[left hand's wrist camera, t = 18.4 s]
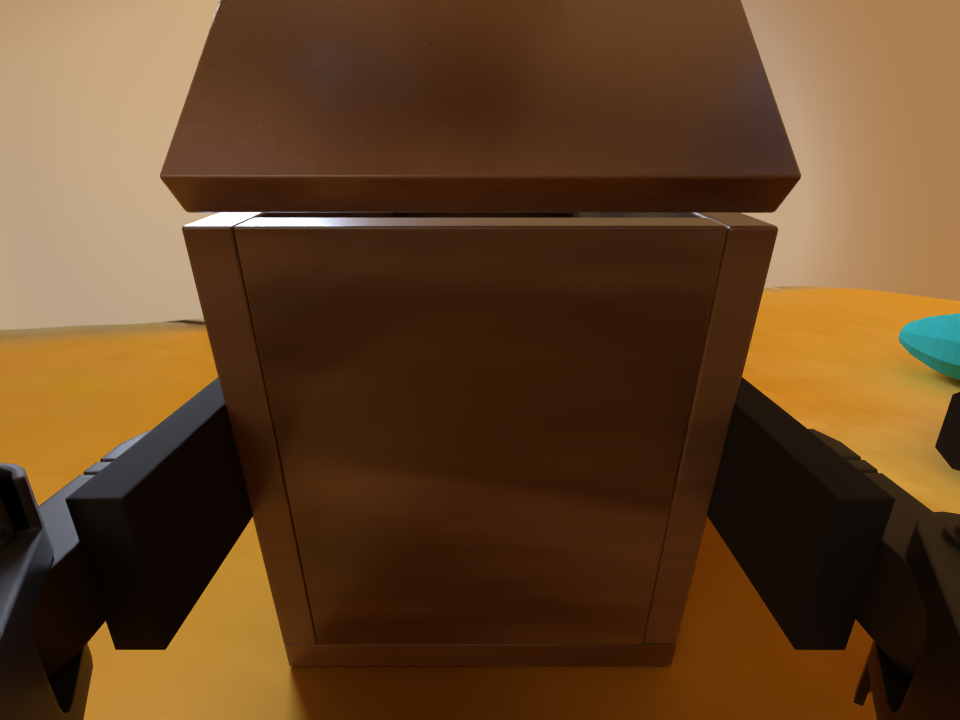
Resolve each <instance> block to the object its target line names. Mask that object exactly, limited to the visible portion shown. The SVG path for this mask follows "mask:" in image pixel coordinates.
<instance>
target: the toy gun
mask: <svg viewBox="0 0 960 720" xmlns="http://www.w3.org/2000/svg"><path fill="white" fill-rule="evenodd" d="M899 340H900V343H901V344H902V345H903V346H904V347H905V349H906V350H907V351H908V352H909V353H910V354H911V355H913V356H914V357H916V358H917V359H919V360H920V361H922V362H923V363H924V364H926V365H927V366H929V367H930V368H932V369H934V370H936V371H938V372H940V373H942V374H944V375H947V376H949V377H952V378H954V379H958V380H960V313H958V314H950V315H942V316H933V317H927V318H924V319H920V320H917V321H913V322H910V323H908V324H906V325H905V326H904V327H903V329H902V330H901V331H900V335H899ZM935 447H936V449H937V450H938V451H939V452H940V454H941V455H942V456H943V458H944V459H945V460H946V461H947V463H948V464H949V465H950V467H951V468H953V469H956V470H959V471H960V392H959V393H956V394H953V396H952V399H951V402H950V404H949V407H948V410H947V413H946V416H945V419H944V422H943V425H942V428H941V431H940V434H939V437H938V440H937V443H936V446H935Z"/></svg>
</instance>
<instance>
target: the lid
mask: <svg viewBox="0 0 960 720" xmlns="http://www.w3.org/2000/svg"><path fill="white" fill-rule="evenodd" d="M160 177H161V179H162V181H163V182H164V183H165V185H166V186H167V187H168V189H169V190H170V191H171V193H172V194H173V195H174V197H175V198H176V199H177V200H178V202H179V203H180V204H181V206H182V207H183V208H184V210H185V211H187V212H371V213H772V212H774V211H776V210H777V208H778V207H779V206H780V204H781V203H782V202H783V201H784V199H785V198H786V197H787V195H788V194H789V193H790V191H791V190H792V189H793V188H794V186H795V185H796V184H797V182H798V181H799V180H800V178H801V174H800V171H799V168H798V165H797V162H796V159H795V156H794V153H793V150H792V148H791V145H790V142H789V139H788V136H787V133H786V130H785V127H784V124H783V122H782V119H781V116H780V113H779V110H778V107H777V104H776V101H775V98H774V96H773V93H772V90H771V87H770V84H769V81H768V78H767V75H766V72H765V69H764V67H763V64H762V61H761V58H760V55H759V52H758V49H757V46H756V43H755V40H754V38H753V35H752V32H751V29H750V26H749V23H748V20H747V17H746V14H745V11H744V9H743V6H742V3H741V0H220V2H219V5H218V8H217V11H216V13H215V16H214V19H213V22H212V25H211V28H210V31H209V34H208V37H207V40H206V43H205V45H204V48H203V51H202V54H201V57H200V60H199V63H198V66H197V69H196V72H195V75H194V78H193V80H192V83H191V86H190V89H189V92H188V95H187V98H186V101H185V104H184V107H183V110H182V113H181V115H180V118H179V121H178V124H177V127H176V130H175V133H174V136H173V139H172V142H171V145H170V147H169V151H168V153H167V156H166V159H165V162H164V165H163V168H162V171H161V174H160Z"/></svg>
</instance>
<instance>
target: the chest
mask: <svg viewBox="0 0 960 720" xmlns="http://www.w3.org/2000/svg"><path fill="white" fill-rule="evenodd" d="M182 231H183V235H184V239H185V243H186V247H187V251H188V255H189V259H190V263H191V267H192V271H193V276H194V280H195V284H196V288H197V291H198V296H199V300H200V304H201V308H202V312H203V316H204V320H205V324H206V328H207V332H208V336H209V341H210V345H211V349H212V353H213V357H214V361H215V365H216V369H217V373H218V377H219V381H220V385H221V389H222V393H223V397H224V401H225V405H226V410H227V414H228V418H229V422H230V426H231V430H232V434H233V438H234V442H235V446H236V450H237V454H238V458H239V462H240V466H241V470H242V474H243V479H244V483H245V487H246V491H247V495H248V499H249V503H250V507H251V511H252V515H253V519H254V523H255V527H256V531H257V535H258V539H259V543H260V548H261V552H262V556H263V560H264V564H265V568H266V572H267V576H268V580H269V584H270V588H271V592H272V596H273V600H274V604H275V608H276V613H277V617H278V621H279V625H280V629H281V633H282V637H283V641H284V644H285V649H286V653H287V657H288V661H289V665H290V666H670V665H671V663H672V659H673V655H674V651H675V647H676V644H675V643H676V641H677V637H678V633H679V629H680V625H681V621H682V617H683V613H684V609H685V605H686V601H687V597H688V592H689V588H690V584H691V580H692V576H693V572H694V568H695V564H696V560H697V556H698V552H699V548H700V544H701V540H702V536H703V532H704V528H705V524H706V520H707V516H708V512H709V508H710V503H711V499H712V495H713V491H714V487H715V483H716V479H717V475H718V471H719V467H720V463H721V459H722V455H723V451H724V447H725V443H726V439H727V435H728V431H729V427H730V423H731V419H732V414H733V410H734V406H735V402H736V398H737V394H738V390H739V386H740V382H741V378H742V374H743V370H744V366H745V362H746V358H747V354H748V350H749V346H750V342H751V338H752V334H753V330H754V325H755V321H756V317H757V313H758V309H759V305H760V301H761V297H762V293H763V289H764V285H765V281H766V277H767V273H768V269H769V265H770V261H771V257H772V252H773V249H774V245H775V240H776V236H777V232H778V228H777V227H776V226H774V225H772V224H769V223H766V222H763V221H761V220H758V219H755V218H753V217H750V216H747V215H744V214H742V213H371V212H220V213H218V214H215V215H212V216H210V217H207V218H204V219H201V220H199V221H196V222H193V223H191V224H188V225H185V226H183V227H182Z"/></svg>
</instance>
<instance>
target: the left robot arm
mask: <svg viewBox="0 0 960 720" xmlns="http://www.w3.org/2000/svg"><path fill="white" fill-rule="evenodd" d="M877 471H878V470H877V469H876V468H874V467H873V466H872V465H870V464H869V463H868V462H866V461H865V460H861V457H860V456H858V455H857V454H856V453H854V452H853V451H852V450H850V449H849V448H848V447H847V446H845V445H844V444H843V443H841V442H839V441H837V440H835V439H833V438H831V437H829V436H827V435H825V434H822V433H820V432H818V431H816V430H814V429H807V428H806V427H804V426H803V425H802V424H801V423H799V422H798V421H797V420H795V419H794V418H793V417H792V416H790V415H789V414H788V413H787V412H785V411H784V410H783V409H782V408H780V407H779V406H778V405H777V404H775V403H774V402H773V401H772V400H770V399H769V398H768V397H766V396H765V395H764V394H763V393H761V392H760V391H759V390H758V389H756V388H755V387H754V386H753V385H751V384H750V383H749V382H748V381H746V380H745V379H744V378H743V377H742V378H741V382H740V386H739V390H738V394H737V398H736V402H735V406H734V410H733V414H732V419H731V423H730V427H729V431H728V435H727V439H726V443H725V447H724V451H723V455H722V459H721V463H720V467H719V471H718V475H717V479H716V483H715V487H714V491H713V495H712V499H711V503H710V508H709V512H708V517H709V519H710V520H711V522H712V524H713V525H714V527H715V528H716V530H717V531H718V533H719V534H720V536H721V537H722V539H723V540H724V542H725V543H726V545H727V546H728V548H729V549H730V551H731V553H732V554H733V556H734V557H735V559H736V560H737V562H738V563H739V565H740V566H741V568H742V569H743V571H744V572H745V574H746V575H747V577H748V578H749V580H750V582H751V583H752V585H753V586H754V588H755V589H756V591H757V592H758V594H759V595H760V597H761V598H762V600H763V601H764V603H765V604H766V606H767V607H768V609H769V611H770V612H771V614H772V615H773V617H774V618H775V620H776V621H777V623H778V624H779V626H780V627H781V629H782V630H783V632H784V633H785V635H786V636H787V638H788V640H789V641H790V643H791V644H792V646H793V647H794V649H795V650H845V648H846V645H847V642H848V639H849V636H850V633H851V630H852V627H853V624H854V621H855V618H856V620H857V621H858V622H859V623H860V624H861V626H862V627H863V628H864V629H865V630H866V632H867V633H868V634H869V635H870V636H871V638H872V639H873V640H874V641H873V644H872V647H871V650H870V652H869V655H868V658H867V661H866V663H865V666H864V669H863V672H862V675H861V677H860V680H859V683H858V686H857V688H856V692H855V698H854V703H856V704H859V705H862V706H863V704H864V702H865V699H866V696H867V694H868V693H870V692H872V695H873V700H874V706H875V711H876V717H877V720H960V514H954V513H948V512H932V511H931V510H930V509H928V508H927V507H926V506H924V505H923V504H922V503H921V502H919V501H918V500H917V499H915V498H914V497H913V496H911V495H910V494H909V493H907V492H906V491H905V490H903V489H902V488H901V487H899V486H898V485H897V484H895V483H894V482H893V481H891V480H890V479H889V478H887V477H886V476H885V475H884V474H882V473H878V472H877ZM252 517H253V515H252V511H251V507H250V503H249V499H248V495H247V491H246V487H245V483H244V479H243V474H242V470H241V466H240V462H239V458H238V454H237V450H236V446H235V442H234V438H233V434H232V430H231V426H230V422H229V418H228V414H227V410H226V405H225V401H224V397H223V393H222V389H221V385H220V381H219V377H218V378H217V379H215V380H214V381H213V382H212V383H210V384H209V385H208V386H207V387H205V388H204V389H203V390H202V391H200V392H199V393H198V394H197V395H195V396H194V397H193V398H192V399H190V400H189V401H188V402H186V403H185V404H184V405H183V406H181V407H180V408H179V409H178V410H176V411H175V412H174V413H173V414H171V415H170V416H169V417H168V418H166V419H165V420H164V421H163V422H161V423H160V424H159V425H158V426H156V427H155V428H154V429H152V430H151V431H147V432H144V433H142V434H140V435H138V436H136V437H134V438H132V439H130V440H128V441H126V442H123V443H121V444H120V445H118V446H117V447H116V448H114V449H113V450H112V451H111V452H109V453H108V454H107V455H105V456H104V457H103V458H101V461H100V462H96V463H95V464H94V465H92V466H91V467H90V468H88V469H87V470H86V471H84V475H79V476H78V477H76V478H75V479H74V480H73V481H71V482H70V483H69V484H67V485H66V486H65V487H63V488H62V489H61V490H59V491H58V492H57V493H56V494H54V495H53V496H52V497H50V498H49V499H48V500H46V501H45V502H44V503H42V504H41V505H40V506H39V507H38V505H37V502H36V500H35V497H34V494H33V491H32V489H31V486H30V483H29V480H28V477H27V475H26V472H25V469H24V468H22V467H20V466H18V465H16V464H4V463H0V720H83V718H84V713H85V707H86V702H87V696H88V691H89V685H90V680H91V674H92V669H93V663H92V655H91V652H90V650H89V647H88V644H87V643H88V641H89V640H90V639H91V638H92V636H93V635H94V634H95V633H96V632H97V630H98V629H99V628H100V627H101V626H102V624H103V623H104V622H105V621H106V622H107V625H108V628H109V631H110V634H111V637H112V640H113V643H114V646H115V649H116V650H165V649H166V648H167V646H168V645H169V643H170V642H171V640H172V639H173V637H174V636H175V634H176V633H177V631H178V630H179V628H180V627H181V625H182V623H183V622H184V620H185V619H186V617H187V616H188V614H189V613H190V611H191V610H192V608H193V607H194V605H195V604H196V602H197V601H198V599H199V598H200V596H201V594H202V593H203V591H204V590H205V588H206V587H207V585H208V584H209V582H210V581H211V579H212V578H213V576H214V575H215V573H216V572H217V570H218V569H219V567H220V565H221V564H222V562H223V561H224V559H225V558H226V556H227V555H228V553H229V552H230V550H231V549H232V547H233V546H234V544H235V543H236V541H237V540H238V538H239V536H240V535H241V533H242V532H243V530H244V529H245V527H246V526H247V524H248V523H249V521H250V520H251V518H252Z"/></svg>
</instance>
